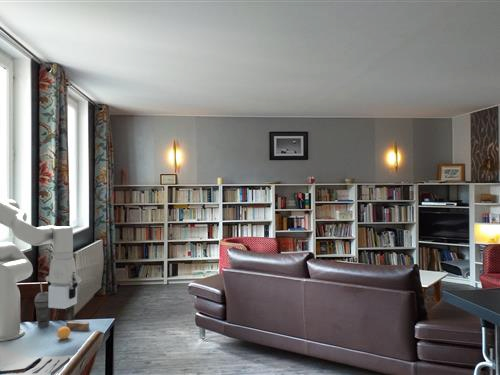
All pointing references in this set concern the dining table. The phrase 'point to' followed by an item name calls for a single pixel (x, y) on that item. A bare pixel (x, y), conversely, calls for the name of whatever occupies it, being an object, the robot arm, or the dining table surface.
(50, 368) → the dining table surface
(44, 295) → the beverage cup
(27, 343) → the dining table surface
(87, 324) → the rail
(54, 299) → the white squarish block
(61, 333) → the ball
